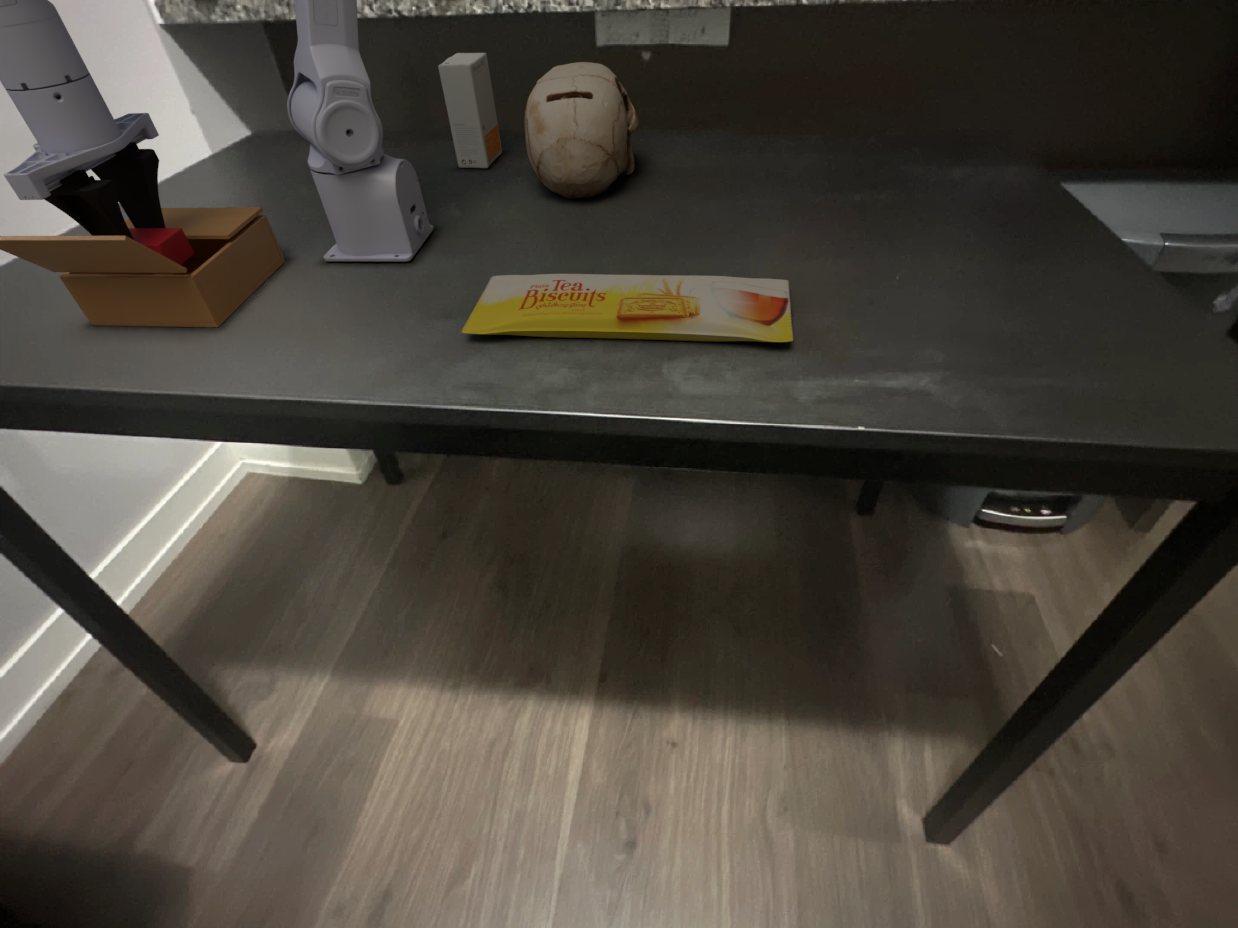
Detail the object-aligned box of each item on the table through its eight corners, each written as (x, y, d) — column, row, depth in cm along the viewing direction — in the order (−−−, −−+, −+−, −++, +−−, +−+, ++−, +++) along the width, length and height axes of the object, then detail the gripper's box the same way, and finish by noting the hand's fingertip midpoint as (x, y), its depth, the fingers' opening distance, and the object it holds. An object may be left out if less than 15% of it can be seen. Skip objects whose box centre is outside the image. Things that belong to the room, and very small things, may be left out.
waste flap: (125, 235, 52) (124, 240, 52) (187, 268, 59) (186, 273, 59) (-21, 235, 54) (-22, 240, 54) (54, 267, 60) (53, 272, 60)
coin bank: (603, 142, 92) (598, 30, 82) (676, 195, 82) (679, 75, 72) (498, 174, 87) (478, 59, 77) (561, 235, 78) (548, 112, 67)
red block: (195, 253, 63) (181, 227, 62) (172, 271, 61) (158, 245, 59) (127, 253, 64) (112, 227, 63) (102, 271, 62) (86, 245, 60)
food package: (456, 321, 56) (489, 264, 64) (462, 344, 58) (494, 286, 65) (795, 329, 52) (790, 267, 60) (792, 354, 54) (787, 291, 61)
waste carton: (285, 260, 72) (262, 206, 68) (218, 327, 62) (187, 268, 58) (173, 260, 73) (144, 207, 70) (91, 325, 64) (53, 268, 60)
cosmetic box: (489, 169, 88) (469, 64, 80) (458, 168, 89) (435, 65, 81) (504, 152, 92) (487, 51, 84) (474, 152, 93) (454, 52, 85)
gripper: (68, 58, 58) (152, 214, 67) (-78, 110, 48) (45, 287, 57) (143, 55, 57) (217, 213, 66) (10, 108, 47) (120, 287, 56)
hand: (142, 247), depth 62 cm, fingers closed on red block, 3 cm apart
